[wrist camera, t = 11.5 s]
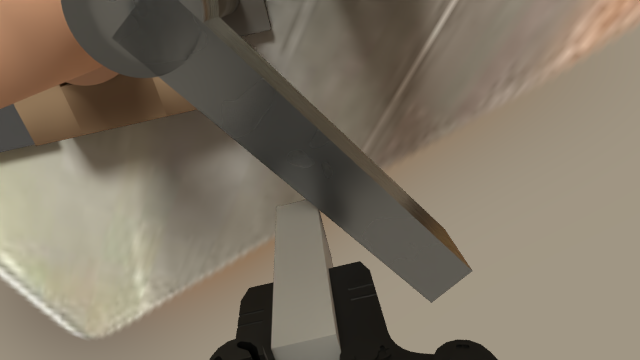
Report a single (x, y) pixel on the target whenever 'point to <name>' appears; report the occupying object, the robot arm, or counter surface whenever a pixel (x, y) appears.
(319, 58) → the counter surface
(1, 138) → the mat
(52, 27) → the peg
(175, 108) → the socket block
